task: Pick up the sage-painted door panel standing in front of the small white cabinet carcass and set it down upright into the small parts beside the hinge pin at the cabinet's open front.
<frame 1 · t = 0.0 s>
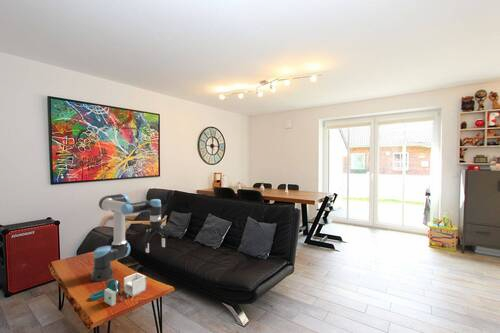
hand: (155, 249, 179), 28 cm above the table, fingers open, 13 cm apart
bracket: (104, 294, 170), on the table
cabinet: (135, 291, 174), on the table
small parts: (121, 297, 166), on the table
door: (110, 303, 159), on the table
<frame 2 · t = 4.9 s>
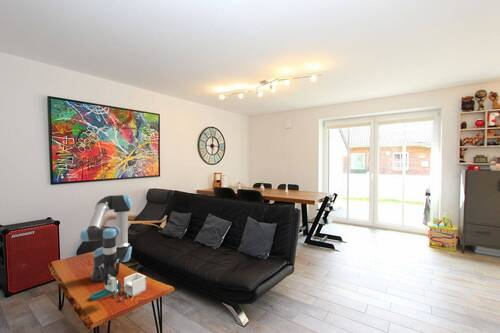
hand: (110, 288, 160), 9 cm above the table, fingers closed on door, 2 cm apart
door: (110, 288, 160), point 9 cm above the table, touching gripper
everything else where it was.
when the fingers open (1 cm above the table, at t = 7.8 s): door stays where it is, on the table.
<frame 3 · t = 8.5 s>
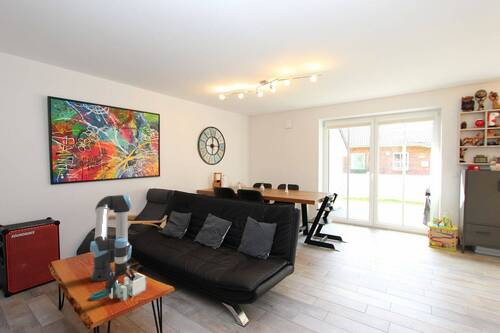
hand: (120, 293, 165), 3 cm above the table, fingers open, 12 cm apart
door: (121, 297, 166), on the table
everything else where it was.
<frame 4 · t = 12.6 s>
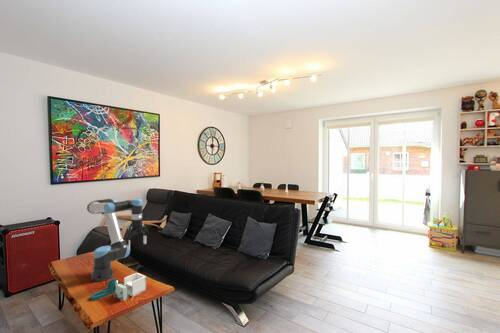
hand: (136, 246, 189), 27 cm above the table, fingers open, 13 cm apart
nothing on the table moved.
at the end: door 0.1 cm from the target spot, on the table; door tilted 0°; the gripper is holding nothing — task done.
